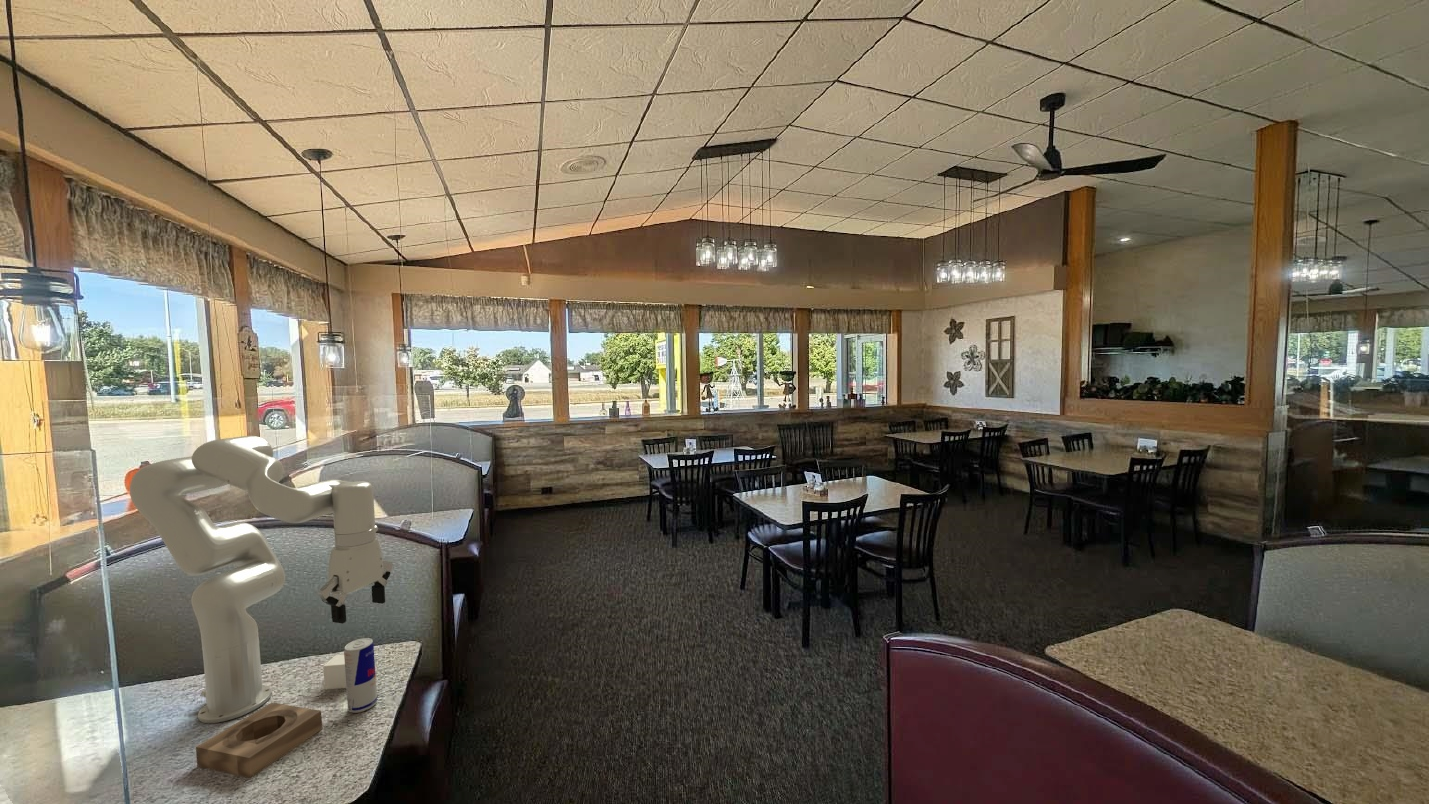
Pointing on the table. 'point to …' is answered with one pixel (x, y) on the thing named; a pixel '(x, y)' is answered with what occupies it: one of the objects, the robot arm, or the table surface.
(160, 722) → the table surface
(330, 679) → the white cube
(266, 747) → the holder
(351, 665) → the beverage can
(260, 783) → the table surface
